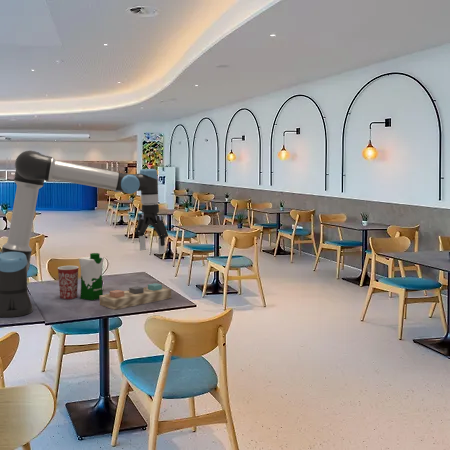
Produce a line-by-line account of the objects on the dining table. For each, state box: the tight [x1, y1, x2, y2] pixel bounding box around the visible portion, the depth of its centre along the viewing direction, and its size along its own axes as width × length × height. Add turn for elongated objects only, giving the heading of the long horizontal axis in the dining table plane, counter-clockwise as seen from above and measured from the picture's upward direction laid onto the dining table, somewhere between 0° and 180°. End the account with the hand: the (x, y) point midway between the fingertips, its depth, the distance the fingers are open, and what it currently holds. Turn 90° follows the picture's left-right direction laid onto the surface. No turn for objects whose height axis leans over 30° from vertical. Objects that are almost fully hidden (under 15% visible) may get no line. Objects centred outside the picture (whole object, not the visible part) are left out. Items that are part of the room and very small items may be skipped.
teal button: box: [147, 282, 163, 291], centre depth 247 cm, size 4×4×3 cm
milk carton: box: [78, 252, 105, 301], centre depth 244 cm, size 9×9×20 cm
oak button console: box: [99, 286, 172, 311], centre depth 240 cm, size 30×11×4 cm, turn 135°
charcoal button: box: [128, 285, 145, 294], centre depth 240 cm, size 4×4×3 cm
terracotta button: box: [109, 289, 125, 298], centre depth 233 cm, size 4×4×3 cm
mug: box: [56, 265, 80, 300], centre depth 247 cm, size 13×9×14 cm
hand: (152, 251), depth 247 cm, fingers open, 13 cm apart
